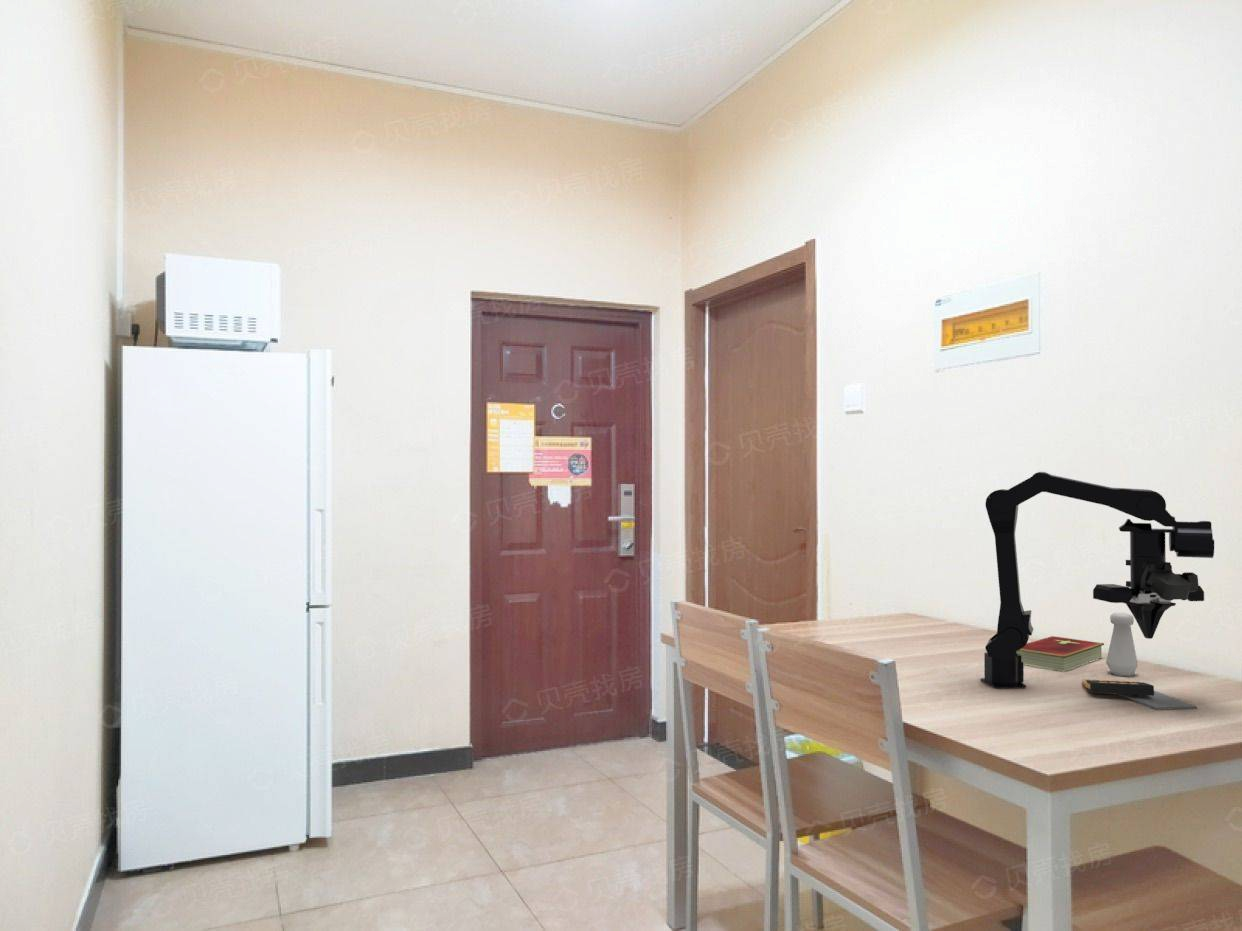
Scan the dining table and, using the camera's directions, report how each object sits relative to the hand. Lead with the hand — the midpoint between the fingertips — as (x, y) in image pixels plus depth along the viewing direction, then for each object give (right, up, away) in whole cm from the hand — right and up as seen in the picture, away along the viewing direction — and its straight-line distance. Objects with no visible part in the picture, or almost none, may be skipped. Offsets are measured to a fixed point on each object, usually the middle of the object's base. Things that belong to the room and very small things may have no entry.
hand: (1148, 638), depth 163 cm
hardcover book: (0, -13, +34) cm, 36 cm away
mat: (+1, -12, 0) cm, 12 cm away
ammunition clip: (-5, -10, 0) cm, 11 cm away
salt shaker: (+7, -12, +21) cm, 25 cm away
